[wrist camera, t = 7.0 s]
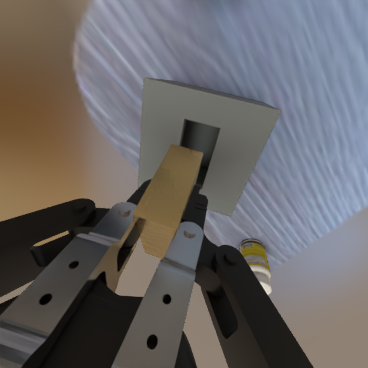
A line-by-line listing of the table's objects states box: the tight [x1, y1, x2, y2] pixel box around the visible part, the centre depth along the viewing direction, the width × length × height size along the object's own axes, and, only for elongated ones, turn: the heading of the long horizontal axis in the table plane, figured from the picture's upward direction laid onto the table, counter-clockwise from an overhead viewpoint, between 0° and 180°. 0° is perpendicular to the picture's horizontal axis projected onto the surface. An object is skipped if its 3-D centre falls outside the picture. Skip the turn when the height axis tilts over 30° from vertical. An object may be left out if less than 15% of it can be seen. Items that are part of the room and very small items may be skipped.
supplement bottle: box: [240, 239, 271, 295], centre depth 30 cm, size 5×5×8 cm
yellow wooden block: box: [132, 144, 203, 259], centre depth 11 cm, size 5×2×6 cm
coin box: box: [138, 78, 281, 217], centre depth 21 cm, size 12×12×9 cm
